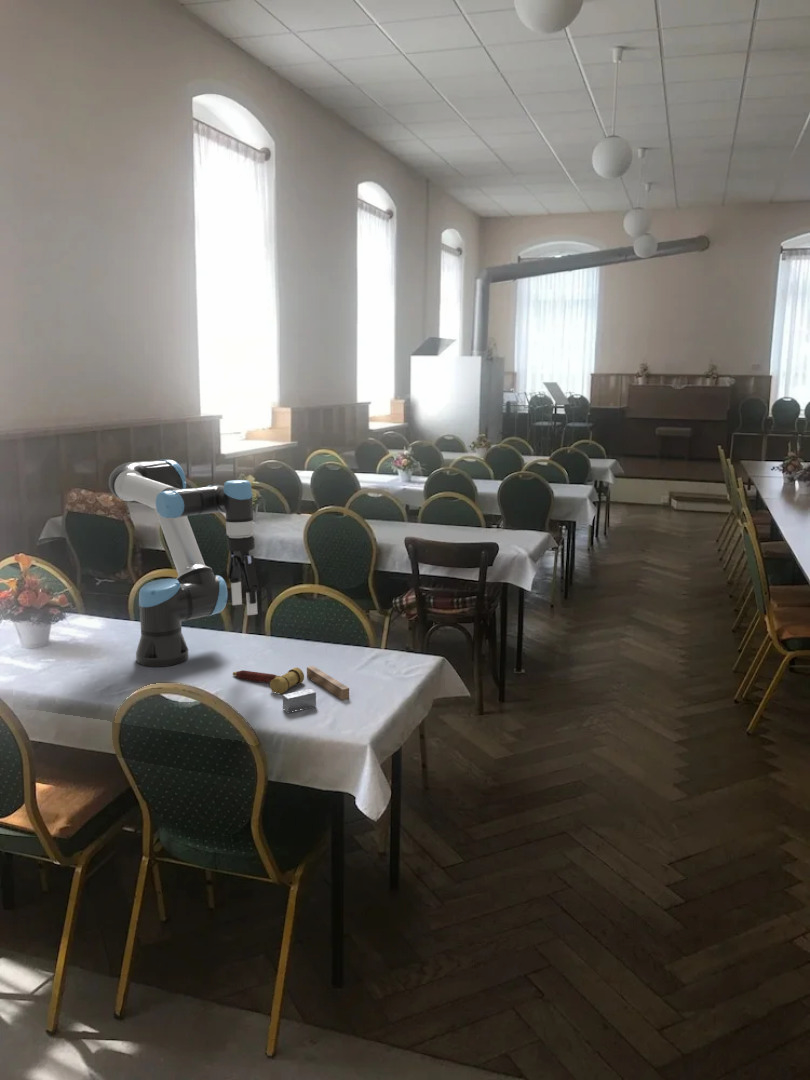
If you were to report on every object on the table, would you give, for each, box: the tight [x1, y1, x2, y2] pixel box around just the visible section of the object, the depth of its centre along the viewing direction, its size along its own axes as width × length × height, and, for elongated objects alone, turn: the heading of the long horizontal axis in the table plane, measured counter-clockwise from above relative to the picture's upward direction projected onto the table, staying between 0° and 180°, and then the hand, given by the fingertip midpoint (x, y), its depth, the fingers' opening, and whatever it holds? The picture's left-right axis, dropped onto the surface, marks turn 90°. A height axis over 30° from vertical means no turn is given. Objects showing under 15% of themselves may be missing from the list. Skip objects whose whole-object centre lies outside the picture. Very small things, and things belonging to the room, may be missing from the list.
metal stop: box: [282, 688, 317, 713], centre depth 220 cm, size 3×8×4 cm, turn 124°
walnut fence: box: [306, 665, 350, 701], centre depth 234 cm, size 20×2×3 cm, turn 35°
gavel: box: [232, 667, 305, 695], centre depth 238 cm, size 21×5×10 cm
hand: (244, 609), depth 242 cm, fingers open, 13 cm apart
